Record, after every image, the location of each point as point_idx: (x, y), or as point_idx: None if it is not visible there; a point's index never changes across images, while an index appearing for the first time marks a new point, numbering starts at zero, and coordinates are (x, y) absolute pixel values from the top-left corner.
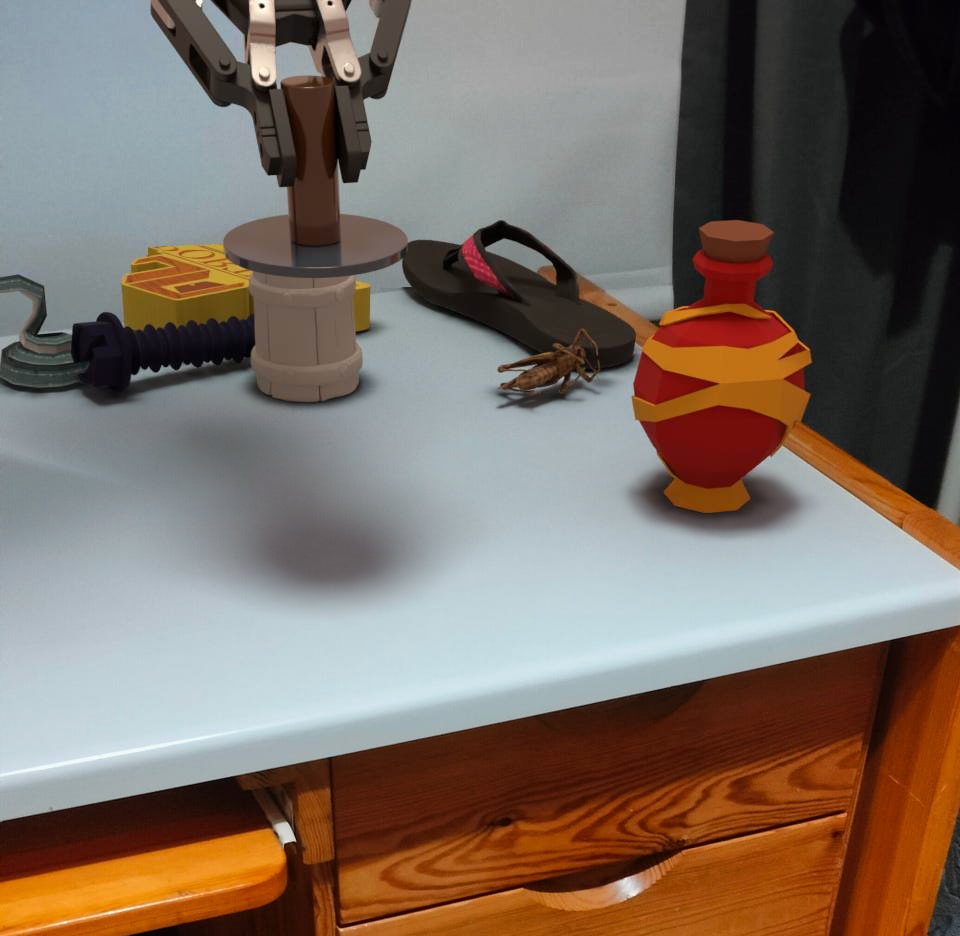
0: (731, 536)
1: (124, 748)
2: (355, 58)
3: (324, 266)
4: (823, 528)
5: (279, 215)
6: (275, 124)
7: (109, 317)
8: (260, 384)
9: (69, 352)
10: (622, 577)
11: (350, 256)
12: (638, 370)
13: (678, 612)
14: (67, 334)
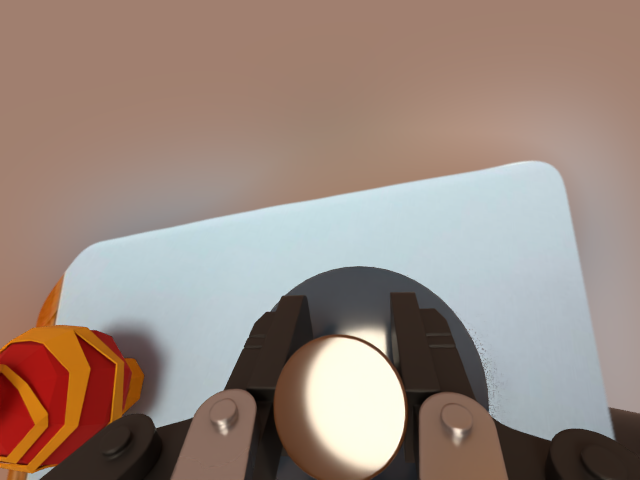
0: (138, 323)
1: (504, 167)
2: (189, 445)
3: (366, 268)
4: (90, 321)
5: None
6: (425, 333)
7: None
8: None
9: None
10: (216, 287)
11: (330, 300)
12: (93, 421)
13: (208, 244)
14: None
